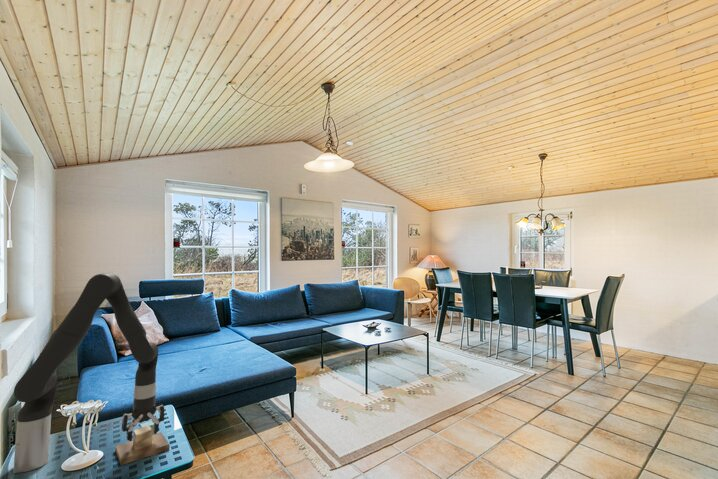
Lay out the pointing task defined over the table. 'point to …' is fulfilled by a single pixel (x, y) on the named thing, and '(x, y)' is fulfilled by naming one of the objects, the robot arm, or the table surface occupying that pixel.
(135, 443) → the oak block
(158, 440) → the walnut board
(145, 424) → the teal block
